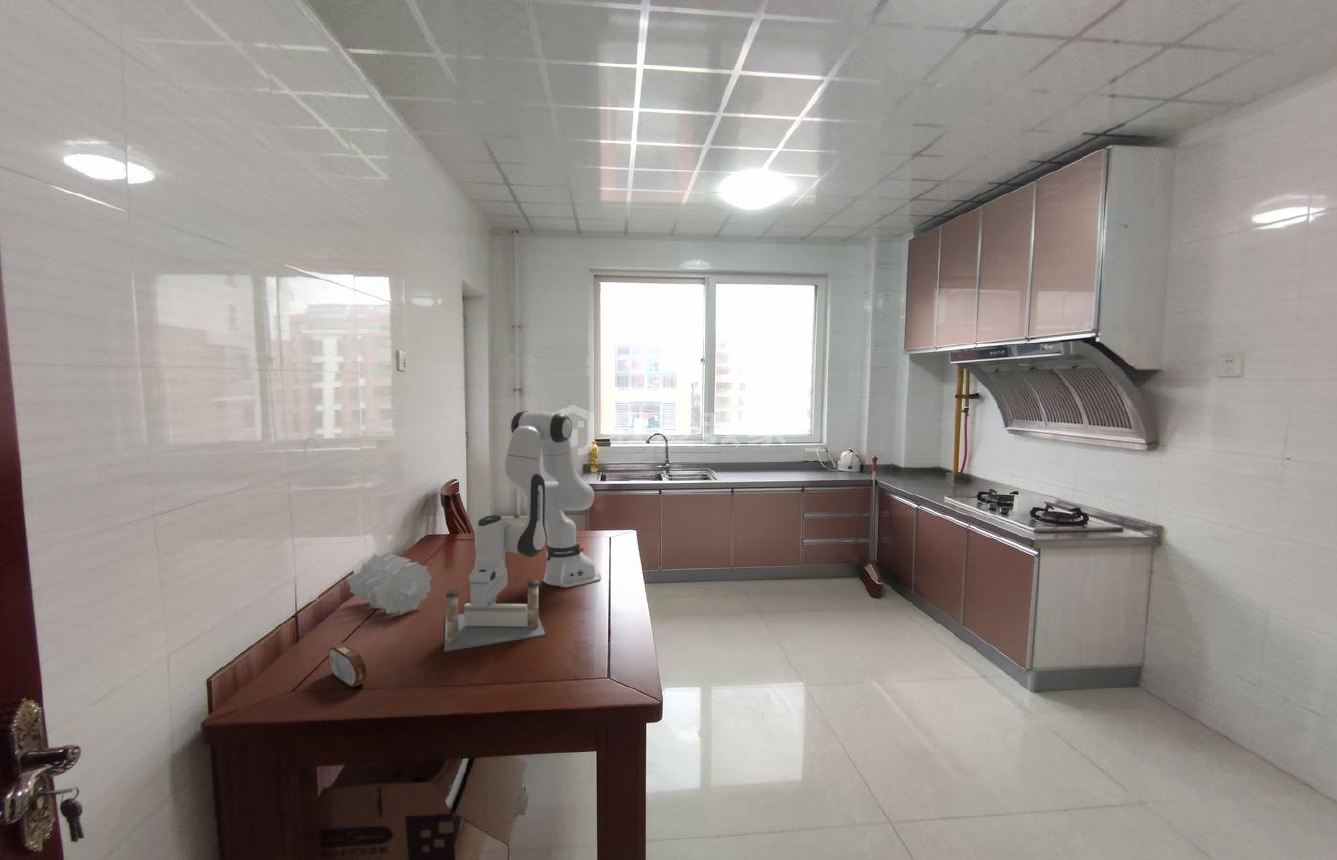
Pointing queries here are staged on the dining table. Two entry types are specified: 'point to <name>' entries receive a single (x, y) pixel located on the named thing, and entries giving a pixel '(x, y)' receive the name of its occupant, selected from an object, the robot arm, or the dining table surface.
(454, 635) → the gate posts
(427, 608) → the dining table surface
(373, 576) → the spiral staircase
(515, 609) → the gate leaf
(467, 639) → the mat
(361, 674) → the tin
